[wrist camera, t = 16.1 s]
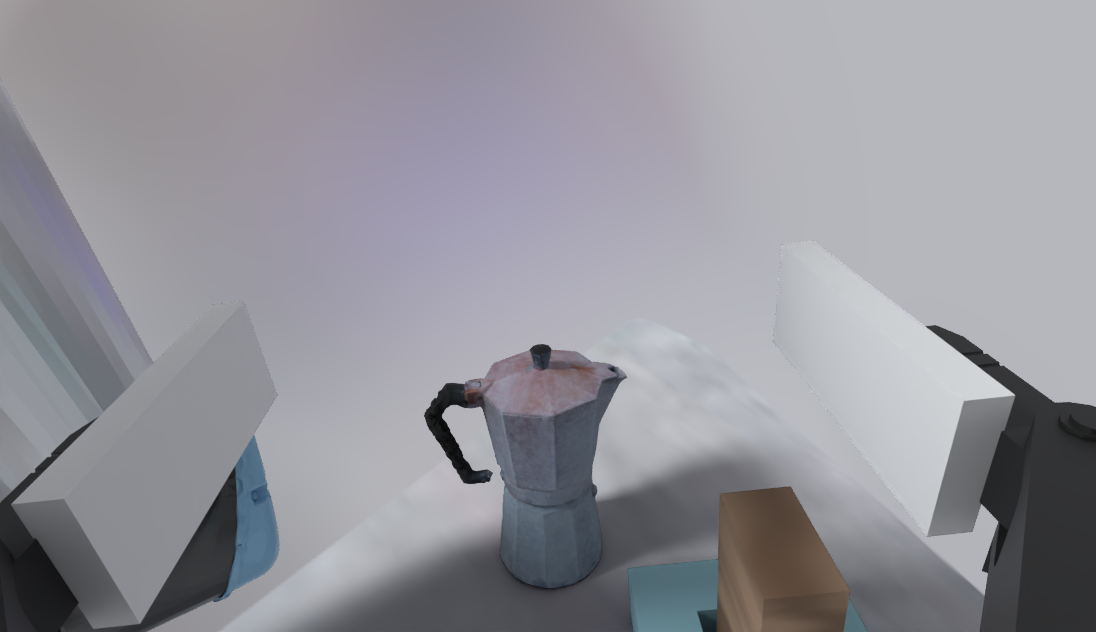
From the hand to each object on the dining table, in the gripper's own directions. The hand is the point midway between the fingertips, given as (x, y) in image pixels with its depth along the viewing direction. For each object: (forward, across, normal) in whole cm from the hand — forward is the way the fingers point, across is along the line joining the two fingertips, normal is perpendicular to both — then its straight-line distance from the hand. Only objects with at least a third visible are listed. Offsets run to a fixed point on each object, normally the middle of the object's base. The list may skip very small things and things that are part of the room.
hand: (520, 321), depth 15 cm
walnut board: (+8, +12, -33) cm, 36 cm away
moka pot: (+24, -1, -35) cm, 43 cm away
